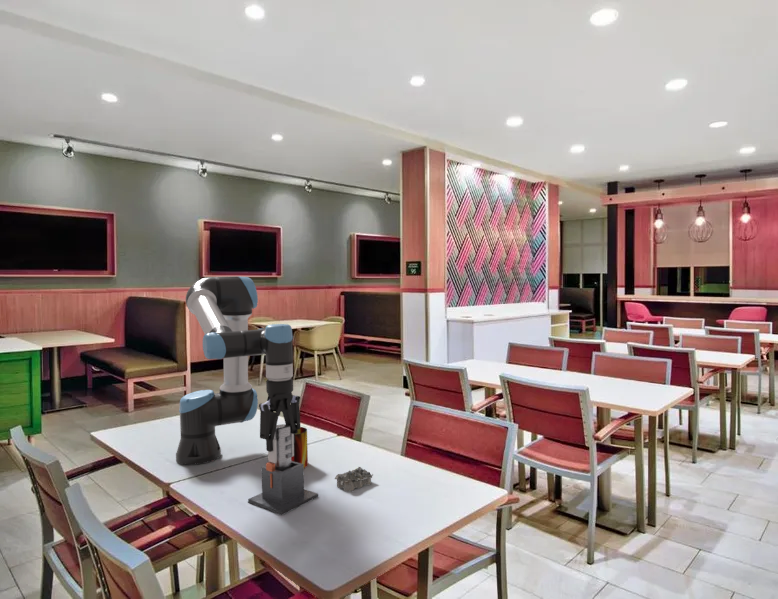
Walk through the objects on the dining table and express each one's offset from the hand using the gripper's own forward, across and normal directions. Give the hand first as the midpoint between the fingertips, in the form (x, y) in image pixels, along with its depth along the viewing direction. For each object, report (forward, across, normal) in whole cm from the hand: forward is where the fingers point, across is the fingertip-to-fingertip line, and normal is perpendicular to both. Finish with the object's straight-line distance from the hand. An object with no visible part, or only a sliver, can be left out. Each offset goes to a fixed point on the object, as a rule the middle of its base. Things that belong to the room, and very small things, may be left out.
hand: (281, 458), depth 150 cm
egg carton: (+13, +21, -10) cm, 26 cm away
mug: (+12, +21, +16) cm, 29 cm away
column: (+11, +1, 0) cm, 11 cm away
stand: (+12, +1, 0) cm, 12 cm away
